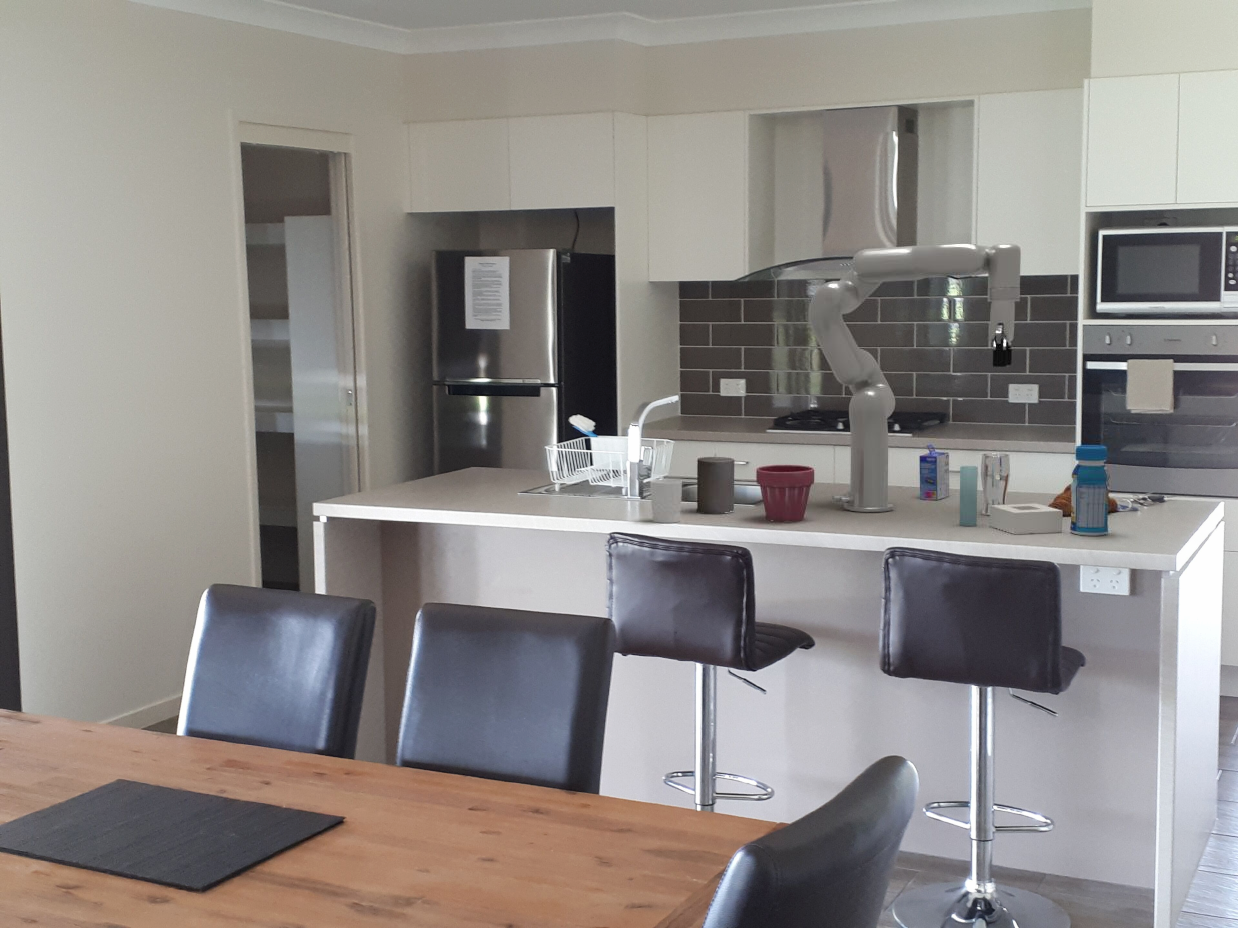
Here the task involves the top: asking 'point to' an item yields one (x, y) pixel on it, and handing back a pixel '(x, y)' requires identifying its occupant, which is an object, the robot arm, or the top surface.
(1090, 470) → the beverage bottle
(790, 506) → the plant pot
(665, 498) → the white cup
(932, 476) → the ink cartridge box
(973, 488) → the peg
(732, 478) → the pillar candle
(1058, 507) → the pastry
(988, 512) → the beer glass
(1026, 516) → the socket block
